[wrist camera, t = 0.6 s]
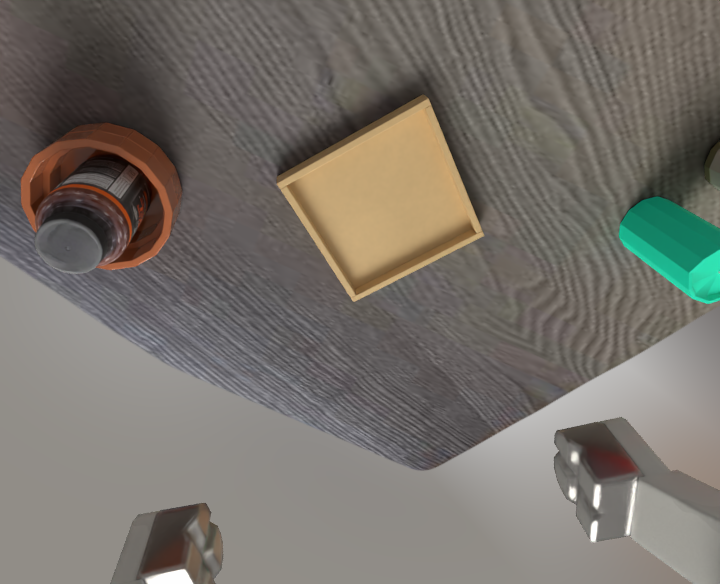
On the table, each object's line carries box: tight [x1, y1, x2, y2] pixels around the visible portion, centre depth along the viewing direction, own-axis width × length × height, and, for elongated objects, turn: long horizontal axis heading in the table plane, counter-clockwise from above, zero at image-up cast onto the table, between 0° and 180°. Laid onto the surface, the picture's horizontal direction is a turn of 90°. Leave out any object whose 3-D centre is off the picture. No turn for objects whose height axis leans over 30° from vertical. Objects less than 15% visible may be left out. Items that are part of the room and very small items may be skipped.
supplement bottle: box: [35, 155, 151, 274], centre depth 36 cm, size 6×6×11 cm
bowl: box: [21, 123, 182, 270], centre depth 39 cm, size 10×10×5 cm
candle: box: [619, 196, 720, 304], centre depth 46 cm, size 6×6×12 cm
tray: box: [277, 94, 484, 302], centre depth 45 cm, size 14×14×2 cm
